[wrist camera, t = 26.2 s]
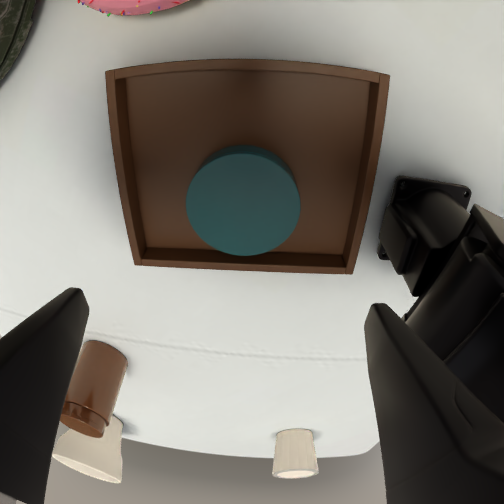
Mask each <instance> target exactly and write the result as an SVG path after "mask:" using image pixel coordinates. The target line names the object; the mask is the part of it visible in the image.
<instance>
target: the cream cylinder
mask: <svg viewBox="0 0 504 504" xmlns="http://www.w3.org/2000/svg"><path fill="white" fill-rule="evenodd" d="M317 473H318V466H317V459H316V453H315V447H314V441H313V435H312V432H311V431H309V430H306V429H289V430H284V431H282V432H279V433H278V434H277V436H276V445H275V454H274V463H273V471H272V475H273V476H274V477H277V478H289V479H291V478H292V479H294V478H304V477H309V476H313V475H316V474H317Z"/></svg>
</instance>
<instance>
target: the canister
mask: <svg viewBox="0 0 504 504" xmlns="http://www.w3.org/2000/svg"><path fill="white" fill-rule="evenodd" d="M35 2H36V0H0V81H1V80H2V79H3V77H4V76H5V75H6V74H7V73H8V71H9V69H10V68H11V66H12V65H13V63H14V61H15V60H16V58H17V57H18V54H19V52H20V50H21V48H22V46H23V44H24V42H25V40H26V38H27V35H28V33H29V30H30V27H31V25H32V22H33V20H32V19H31V16H32V12H33V9H34V5H35Z"/></svg>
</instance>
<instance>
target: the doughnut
mask: <svg viewBox="0 0 504 504" xmlns="http://www.w3.org/2000/svg"><path fill="white" fill-rule="evenodd" d="M80 1H81V2H82V5H84V4H85V5H87V7H91V8H93V9H95V10H98V11H100V12H102V13H108V15H107V16H109V15H110V14H114V15H121V16H123V15H138V14H146V13H150V14H152V12H157V11H161V10H165V9H169V8H172V7H175V6H177V5H180V4H182V3H185V2H187V1H189V0H78V3H80Z"/></svg>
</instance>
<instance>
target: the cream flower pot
mask: <svg viewBox="0 0 504 504" xmlns="http://www.w3.org/2000/svg"><path fill="white" fill-rule="evenodd" d="M122 427H123V424H122V422H121V421H120V420H119V419H118V418H116V417H115V416H113V415H112V417H111V421H110V424H109V426H107V427H106V428H105V431H104V434H103V437H102V438H94V437H90V436H86V435H84V434H81V433H79V432H77V431H75V430H73V429H71V428H70V429H69V430H68V431H67V432H66V433H64V434H63V435H61V436H60V438H59V440H58V442H57V443H56V445H55V447H54V449H53V452H52V456H53V457H54V458H55V459H57V460H58V461H59V462H61V463H63V464H65V465H67V466H68V467H71V468H73V469H75V470H77V471H79V472H81V473H84V474H86V475H89V476H92V477H95V478H98V479H101V480H104V481H108V482H112V483H120V482H121V481H122V463H123V460H122V457H121V435H122Z"/></svg>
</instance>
